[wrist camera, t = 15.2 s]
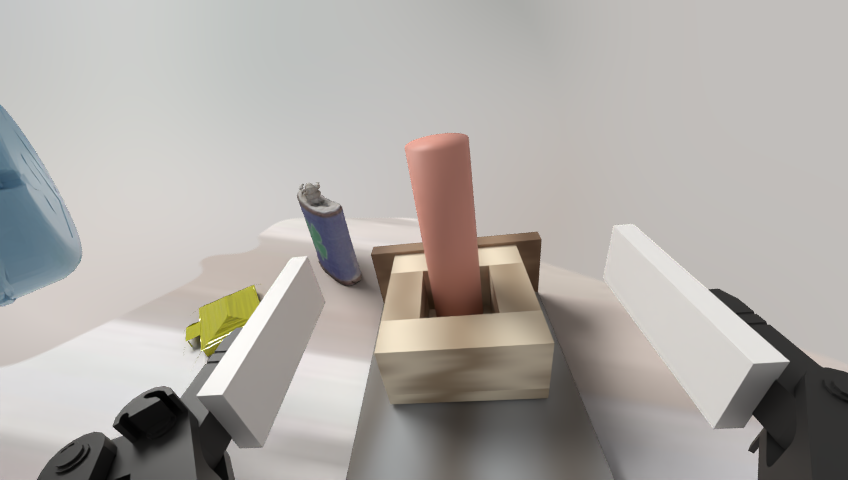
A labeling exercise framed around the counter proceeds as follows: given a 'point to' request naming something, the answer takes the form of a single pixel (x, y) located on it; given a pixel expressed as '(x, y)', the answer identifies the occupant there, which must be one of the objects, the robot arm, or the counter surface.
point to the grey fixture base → (477, 416)
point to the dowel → (447, 221)
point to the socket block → (464, 336)
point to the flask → (329, 235)
